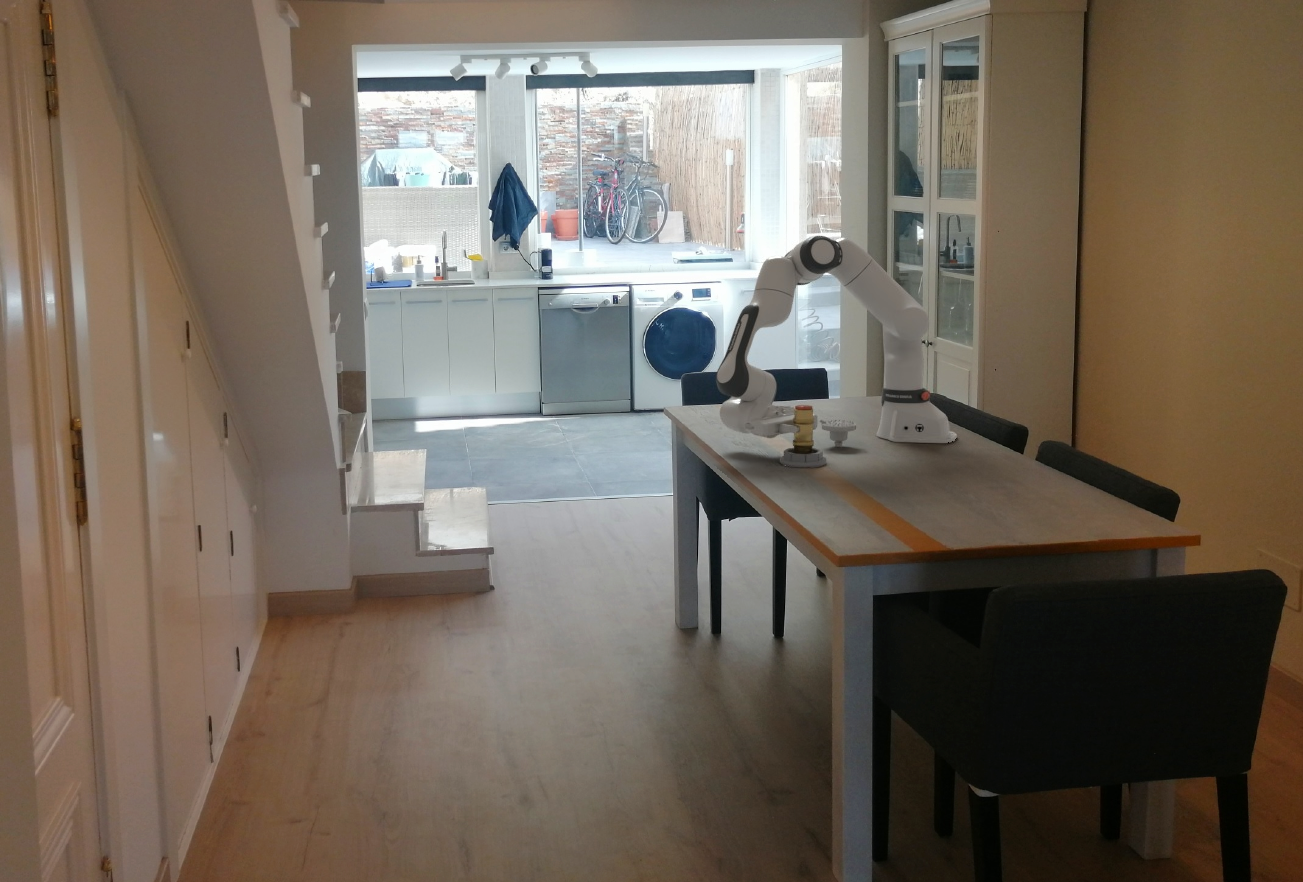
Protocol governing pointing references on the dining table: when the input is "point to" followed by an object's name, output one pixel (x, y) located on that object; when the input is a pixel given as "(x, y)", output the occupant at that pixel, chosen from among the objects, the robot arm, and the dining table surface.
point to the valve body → (803, 429)
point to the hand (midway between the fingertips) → (806, 428)
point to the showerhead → (838, 430)
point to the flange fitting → (803, 458)
